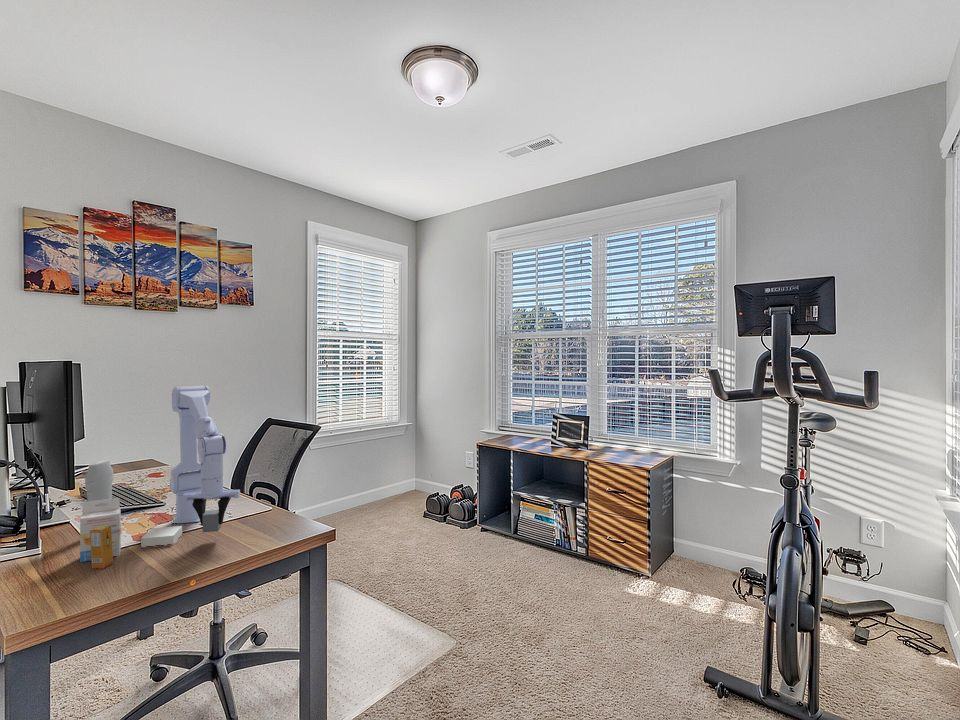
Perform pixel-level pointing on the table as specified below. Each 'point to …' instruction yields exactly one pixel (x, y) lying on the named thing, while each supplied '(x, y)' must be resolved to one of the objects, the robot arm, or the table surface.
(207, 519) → the charcoal block
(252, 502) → the table surface
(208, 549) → the table surface
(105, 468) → the tall pale column
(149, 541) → the base block
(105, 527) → the supplement box
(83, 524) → the ink box
